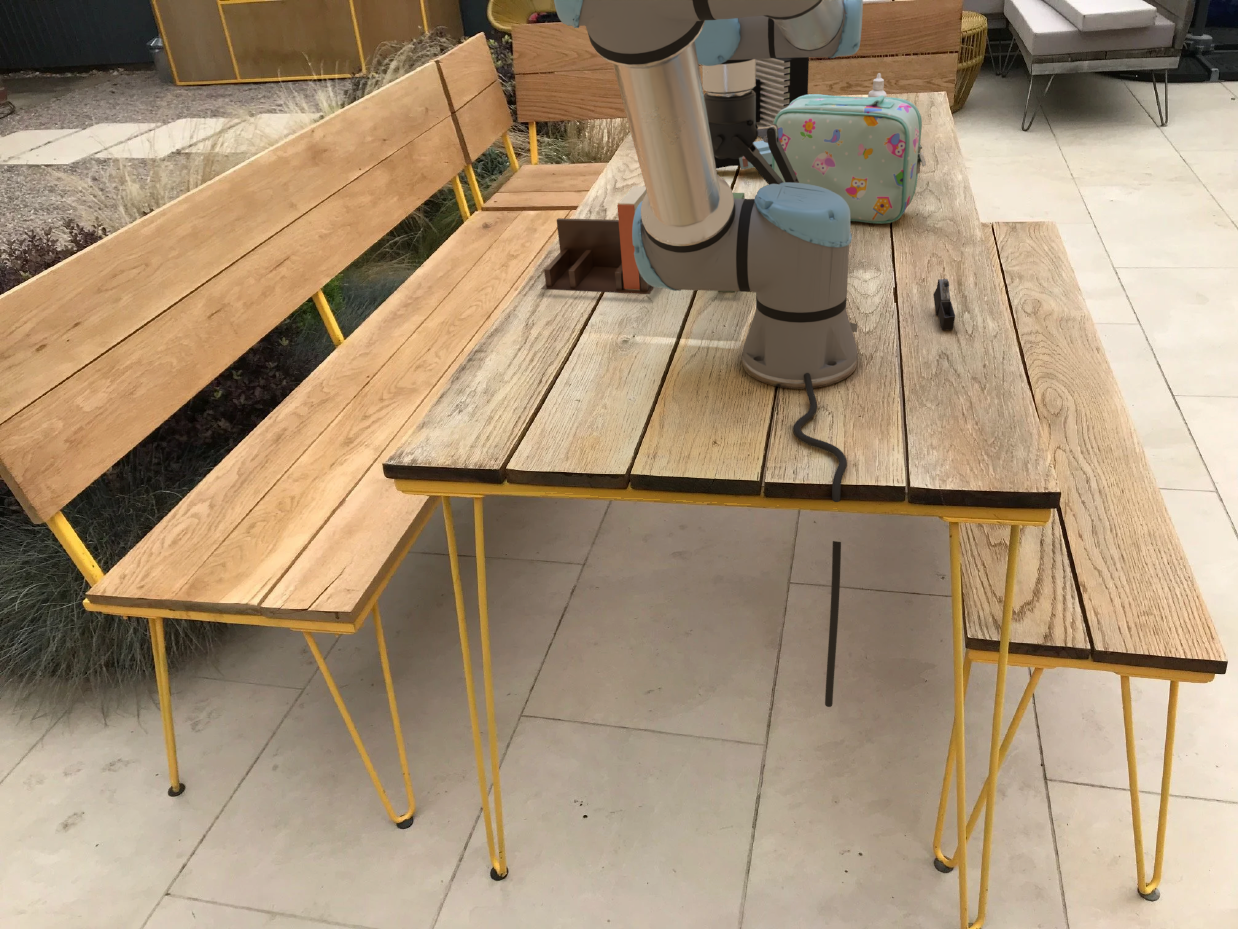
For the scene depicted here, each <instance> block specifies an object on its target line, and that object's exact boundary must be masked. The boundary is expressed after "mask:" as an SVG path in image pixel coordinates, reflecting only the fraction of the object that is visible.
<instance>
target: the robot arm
mask: <svg viewBox="0 0 1238 929" xmlns="http://www.w3.org/2000/svg"><path fill="white" fill-rule="evenodd" d="M553 3H554V8H555V11H556V14H557V17H558V19H559V21H560V22H561V23H562V24H563V25H566V26H568V27H570V26H571V27H573V28H574V29H579V28H580V27H581V26H582V27H585V29H586V31H587V35H588V38H589V39H588V40H589V42H590V44H591V47H592V49H593V50H594V52H595V53H596V54H597V55H598V56H599V57H600V58H602V59H603V60H604V61H606V62H608V63H610V64H611V65H612V68H613V71H614V72H613V73H614V76H615V80H616V83H617V87H618V91H619V94H620V98H621V101H622V102H621V103H622V105H623V110H624V114H625V116H626V120H627V124H628V127H629V131H630V134H631V138H632V143H633V146H634V150H635V153H636V157H637V161H638V165H639V168H640V172H641V175H642V180H643V183H644V186H645V187H646V191H647V193H646V195H645V197H644V199H643V201H641V202H640V203H639V205H638V207H637V209H636V211H635V215H634V219H633V227H632V241H633V246H634V248H635V252H634V257H635V261H636V265H637V268H638V270H639V272H640V274H641V276H642V278H643V279H644V280H645V281H646V282H647V283H648V284H649V285H651V286H653V287H654V288H656V289H665V290H666V289H667V290H670V291H674V292H677V291H678V292H680V291H708V292H709V291H710V292H711V291H712V292H713V291H714V292H718V291H735V292H744V293H745V292H746V293H755V312H754V314H753V317H752V321H751V323H750V326H749V329H748V332H747V335H746V338H745V341H744V342H743V343H744V344H743V347H742V353H741V354H742V355H741V356H742V357H741V358H742V360H741V361H742V367H743V369H744V371H745V372H746V373H747V375H749V376H750V377H752V378H753V379H755V380H756V381H758V382H760V383H763V384H765V385H769V386H773V387H778V388H784V389H794V390H795V389H796V390H798V389H800V390H802V389H803V390H804V389H805V391H806V395H807V399H808V403H809V409H808V411H806V413H805V414H803V415H802V416H801V417H800V418H798V419H797V421H795V422H794V424H793V426H792V432H793V435H794V437H796V438H797V439H798V440H799V441H800V442H802V443H804V444H806V445H809V446H811V447H815V448H818V449H820V450H824V451H826V452H828V453H830V454H832V455H833V456H835V458H836V459H837V461H838V465H837V467H836V469H835V472H834V474H833V478H832V483H831V485H832V486H831V501H832V502H834V503H839V502H841V489H842V480H843V476H844V474H845V472H846V470H847V466H848V461H847V460H848V459H847V457H846V455H845V453H844V452H843V451H842V450H841V449H840V448H839V447H837V446H836V445H834V444H832V443H829V442H827V441H824V440H820V439H818V438H814V437H812V436H809V435H807V434H805V433H803V431H802V427H803V426H805V425H806V424H807V423H808V422H810V421H811V419H813V418H814V416H815V415H816V413H817V410H818V402H817V401H818V400H817V398H816V394H815V391H814V389H817V388H823V387H826V386H831V385H834V384H837V383H839V382H842V381H843V380H845V379H847V378H848V377H850V376H851V375H852V374H853V373H854V372H855V370H856V368H857V366H858V354H859V353H858V346H857V343H856V339H855V335H854V333H858V323H855V322H850V319H849V316H848V312H847V299H848V298H847V297H848V281H849V279H848V278H849V260H850V259H849V256H850V245H851V243H852V240H853V235H852V232H851V221H850V209H849V206H848V204H847V202H846V201H845V200H844V199H843V198H842V197H841V196H839V195H838V194H836V193H834V192H832V191H830V190H828V189H825V188H822V187H819V186H815V185H810V184H803V183H799V181H798V179H797V176H796V174H795V172H794V170H793V168H792V166H791V164H790V162H789V159H788V157H787V155H786V153H785V151H784V149H783V147H782V145H781V143H780V140H779V135H778V126H777V125H776V124H771V125H770V126H768V127H760V128H758V126H757V124H756V93H755V92H754V91H753V90H751V89H753V88H754V87H755V86H756V59H771V58H794V57H809V58H828V59H834V58H836V57H847V56H853V55H855V54H856V53H857V52H858V51H859V50H860V45H861V39H862V29H863V28H862V27H863V10H864V9H863V8H864V0H553ZM700 66H701V69H700ZM704 92H705V93H704ZM758 137H760V138H761V139H762V141H764V142H766V143H768V146H769V149H770V151H771V153H772V155H773V157H774V159H775V161H776V163H777V166H778V168H779V170H780V172H781V174H782V176H783V178H784V180H785V183H784V182H783V181H782V179H781V178H780V177H779V176H778V175H777V173H776V172H775V171H774V170H773V168H772V167H771V166H770V165H769V164H768V162H767V161H766V160H765V159H764V158H763V156H762V155H761V154H760V152H759V150H758V149H757V147H756V146H755V145H754V144H753V143H754V142H756V141H757V138H758ZM714 156H715V157H717V158H718V159H725V158H732V159H739V158H741V157H743V156H744V157H745V158H746V159H747V161H748V162H750V163H751V164H752V165H753V166H754V167H753V168H754V169H755V170H756V171H757V172H758V174H759V175H760V176H761V177H762V178H763V179H764V181H765V182H766V184H767V185H764V186H762V187H760V188H759V189H758V190H757V192H756V194H755V196H754V198H745V199H734V196H733V193H734V192H733V189H732V188H731V186H730V185H729V183H728V181H727V180H725V179H724V178H723V177H722V176H720V175H719V174H718V171H717V168H716V165H715V159H714ZM831 550H832V554H831V556H832V557H831V590H830V610H829V611H830V612H829V630H828V646H827V647H828V648H827V660H826V661H827V662H826V677H825V678H826V679H825V696H824V705H825V707H827V708H831V707H832V706H833V704H834V703H833V702H834V700H833V699H834V687H835V684H834V683H835V670H836V669H835V668H836V654H837V641H838V627H839V626H838V624H839V611H840V608H839V607H840V592H841V591H840V590H841V588H840V587H841V564H842V563H841V562H842V560H841V559H842V541H836V540H832V549H831Z"/></svg>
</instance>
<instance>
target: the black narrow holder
mask: <svg viewBox="0 0 1238 929" xmlns="http://www.w3.org/2000/svg"><path fill="white" fill-rule="evenodd" d="M932 294H933V303H934V304H933V305H934V312H935V313H934V314H935V316H937V317H938V322H939V326H940V328H941V330H942V331H953V330H954V326H955V321H956V320H955V319H956V313H955V310H954V307H953V303H952V301H951V294H950V281H949V279H948V278H939V279H937V284H936V288H935V290H934V292H933V293H932Z"/></svg>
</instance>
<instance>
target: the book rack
mask: <svg viewBox="0 0 1238 929" xmlns="http://www.w3.org/2000/svg"><path fill="white" fill-rule="evenodd" d="M556 228H557V235H558V244H559V245H558V246H559V253H557V255H556V256H555V257H554V258H553V259H552V260H551V261H550V262H549V264H547V266H546V267H545V268H544V269H543V273H544V281H545V284H544V285H543V286H542V287H541V288H540V290H548V291H549V290H550V291H551V290H553V291H569V292H571V291H572V292H592V293H594V292H595V293H614V294H635V295H650V294H651V293H652V291H653V290H654V288H655V287H653V286H651V285H649V284H648V283H647V282H646V281H645V280H644V279H643V278H642V276H641V274H640V277H641V290H625V289H624V282H623V270H622V257H621V245H620V232H619V220H618V219H604V218H603V219H598V218H597V219H596V218H564V217H563V218H562V217H561V218H559V217H558V218H556Z"/></svg>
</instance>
